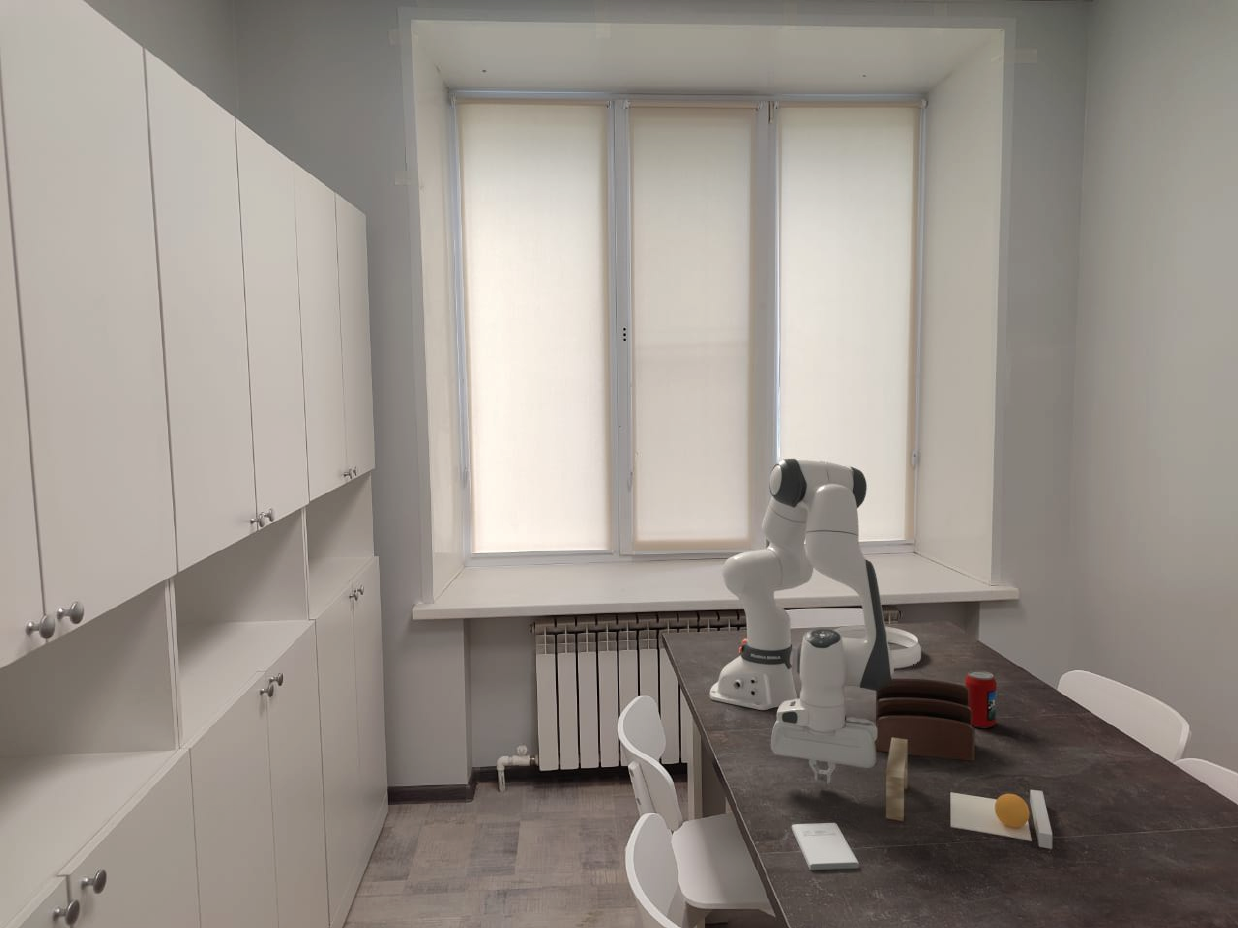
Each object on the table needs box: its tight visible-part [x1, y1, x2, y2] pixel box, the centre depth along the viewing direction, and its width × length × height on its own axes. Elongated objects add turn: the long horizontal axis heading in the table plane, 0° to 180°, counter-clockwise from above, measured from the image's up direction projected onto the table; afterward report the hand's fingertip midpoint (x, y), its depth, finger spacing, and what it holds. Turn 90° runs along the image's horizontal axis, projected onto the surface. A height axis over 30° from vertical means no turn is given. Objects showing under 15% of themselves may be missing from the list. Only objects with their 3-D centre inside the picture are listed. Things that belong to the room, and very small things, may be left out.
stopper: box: [1029, 789, 1053, 850], centre depth 142 cm, size 2×16×2 cm, turn 157°
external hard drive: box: [791, 822, 860, 871], centre depth 137 cm, size 2×8×12 cm
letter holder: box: [875, 677, 976, 762], centre depth 174 cm, size 10×20×14 cm, turn 73°
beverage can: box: [964, 669, 998, 729], centre depth 186 cm, size 7×7×12 cm
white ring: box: [832, 624, 922, 669], centre depth 238 cm, size 27×27×6 cm
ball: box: [995, 793, 1031, 828], centre depth 142 cm, size 6×6×6 cm
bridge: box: [885, 738, 908, 822], centre depth 152 cm, size 3×15×9 cm, turn 157°
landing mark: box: [949, 791, 1033, 842], centre depth 146 cm, size 13×13×1 cm
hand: (822, 780), depth 157 cm, fingers closed
